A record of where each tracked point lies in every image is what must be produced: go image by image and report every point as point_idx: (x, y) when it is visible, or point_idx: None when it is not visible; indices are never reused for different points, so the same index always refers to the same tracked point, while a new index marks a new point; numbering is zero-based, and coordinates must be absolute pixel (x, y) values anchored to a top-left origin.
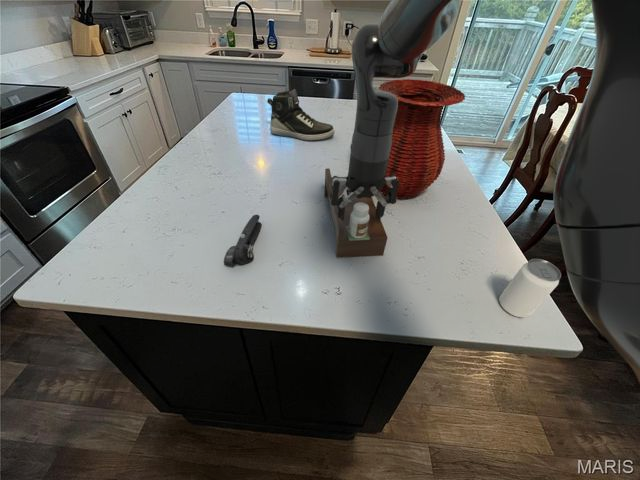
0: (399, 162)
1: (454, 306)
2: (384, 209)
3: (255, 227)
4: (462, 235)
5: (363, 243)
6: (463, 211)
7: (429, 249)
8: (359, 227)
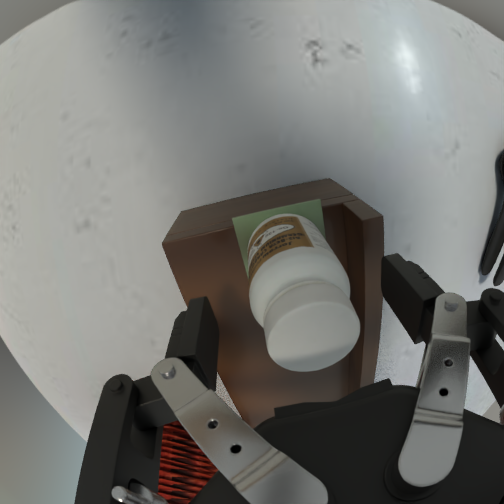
0: (172, 490)
1: (26, 90)
2: (170, 344)
3: (497, 252)
4: (29, 311)
5: (253, 212)
6: (49, 369)
7: (69, 259)
8: (296, 236)
